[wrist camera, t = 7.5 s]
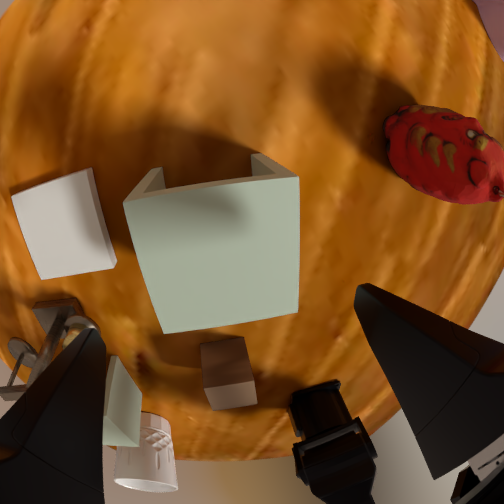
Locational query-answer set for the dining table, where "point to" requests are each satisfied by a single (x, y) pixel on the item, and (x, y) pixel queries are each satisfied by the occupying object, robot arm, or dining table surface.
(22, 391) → the bronze balance
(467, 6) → the dining table surface
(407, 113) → the red clay folk toy
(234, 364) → the walnut block
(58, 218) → the grey ceramic tile
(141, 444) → the white cup
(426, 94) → the dining table surface
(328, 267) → the dining table surface
